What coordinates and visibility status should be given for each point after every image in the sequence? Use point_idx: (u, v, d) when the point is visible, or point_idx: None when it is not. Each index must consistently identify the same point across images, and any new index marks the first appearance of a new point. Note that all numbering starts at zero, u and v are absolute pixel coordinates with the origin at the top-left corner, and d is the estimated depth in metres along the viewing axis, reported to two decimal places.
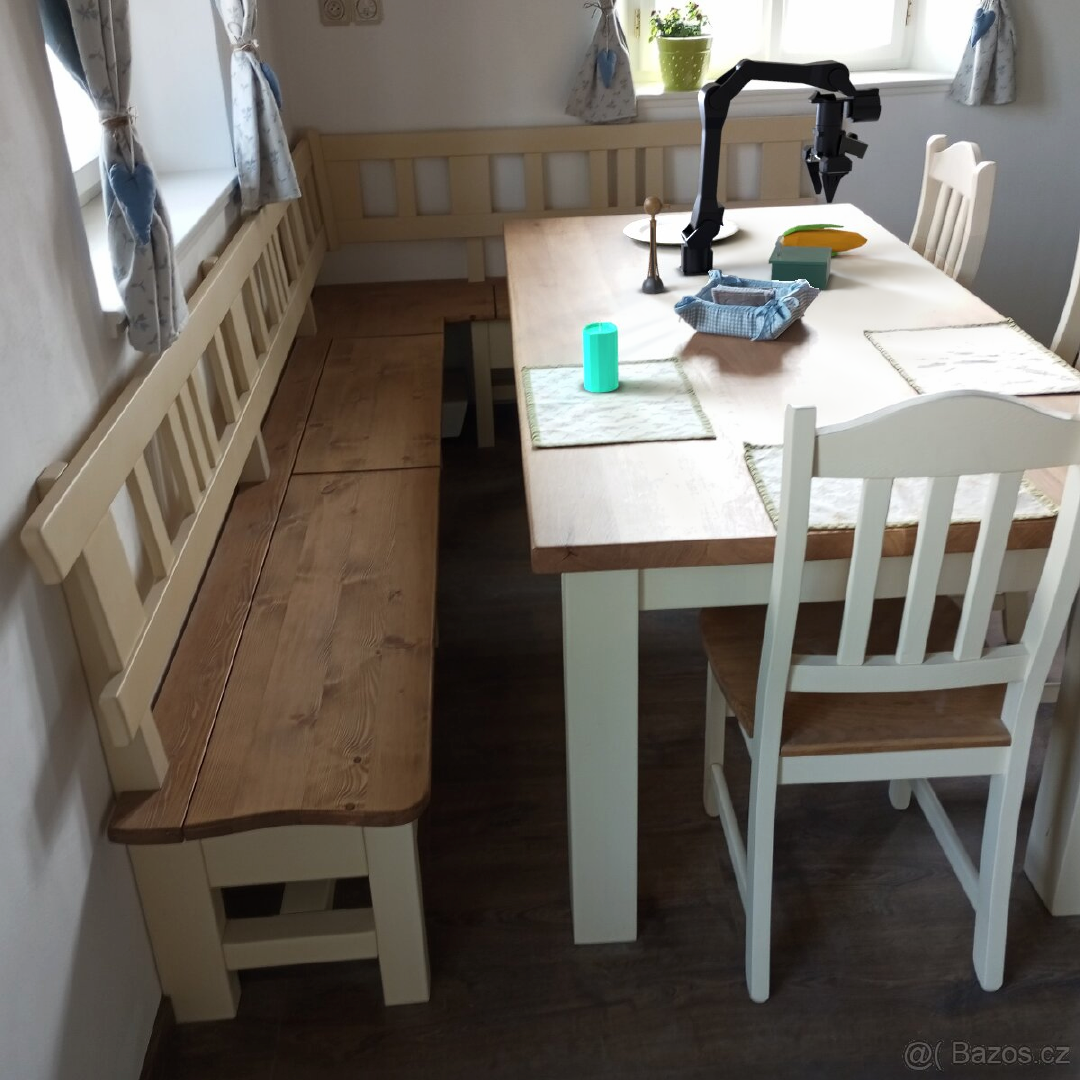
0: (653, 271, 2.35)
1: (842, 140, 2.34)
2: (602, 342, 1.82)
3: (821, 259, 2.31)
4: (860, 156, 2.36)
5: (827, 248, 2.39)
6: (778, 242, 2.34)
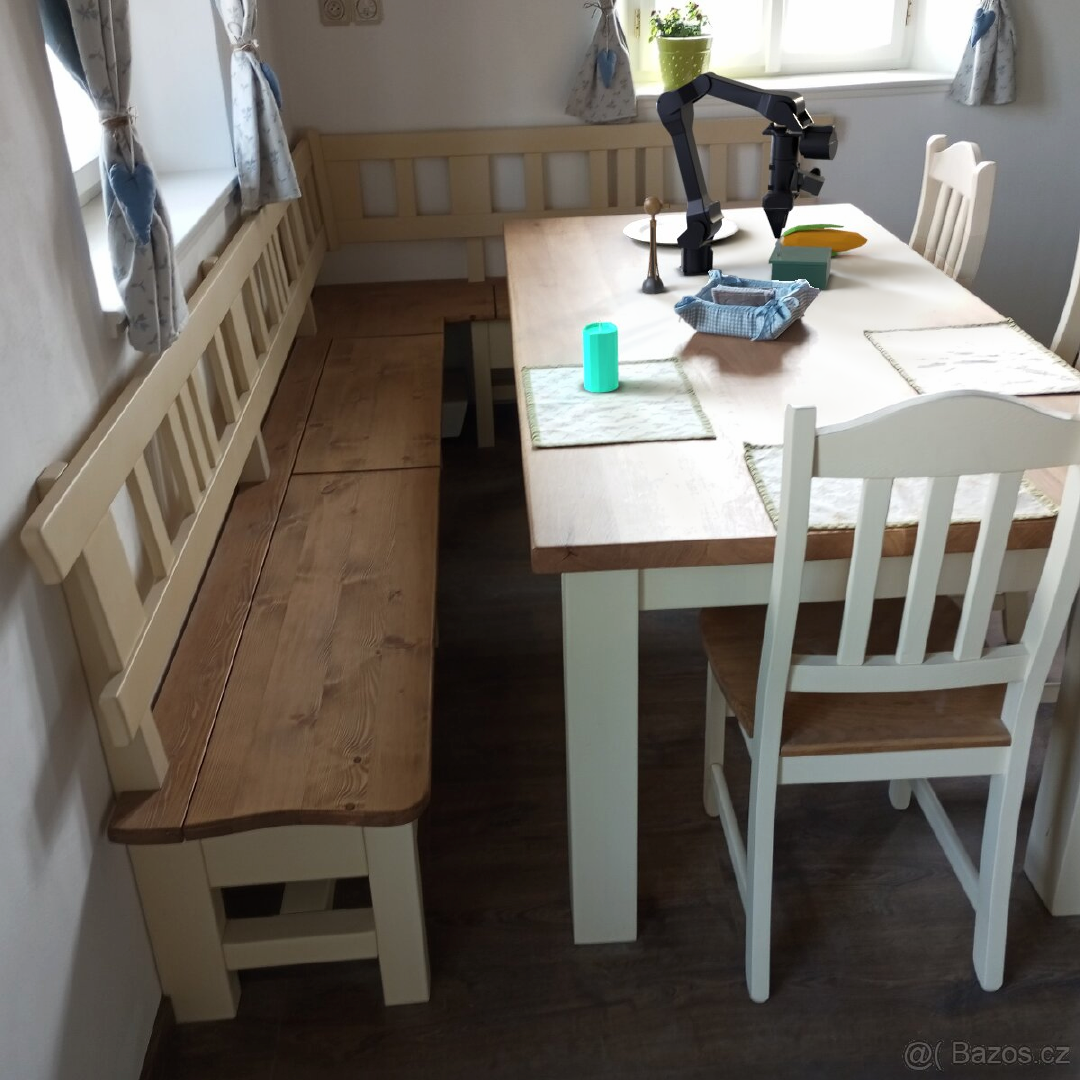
0: (653, 271, 2.35)
1: (794, 175, 2.26)
2: (602, 342, 1.82)
3: (821, 259, 2.31)
4: (814, 193, 2.27)
5: (827, 248, 2.39)
6: (778, 242, 2.34)
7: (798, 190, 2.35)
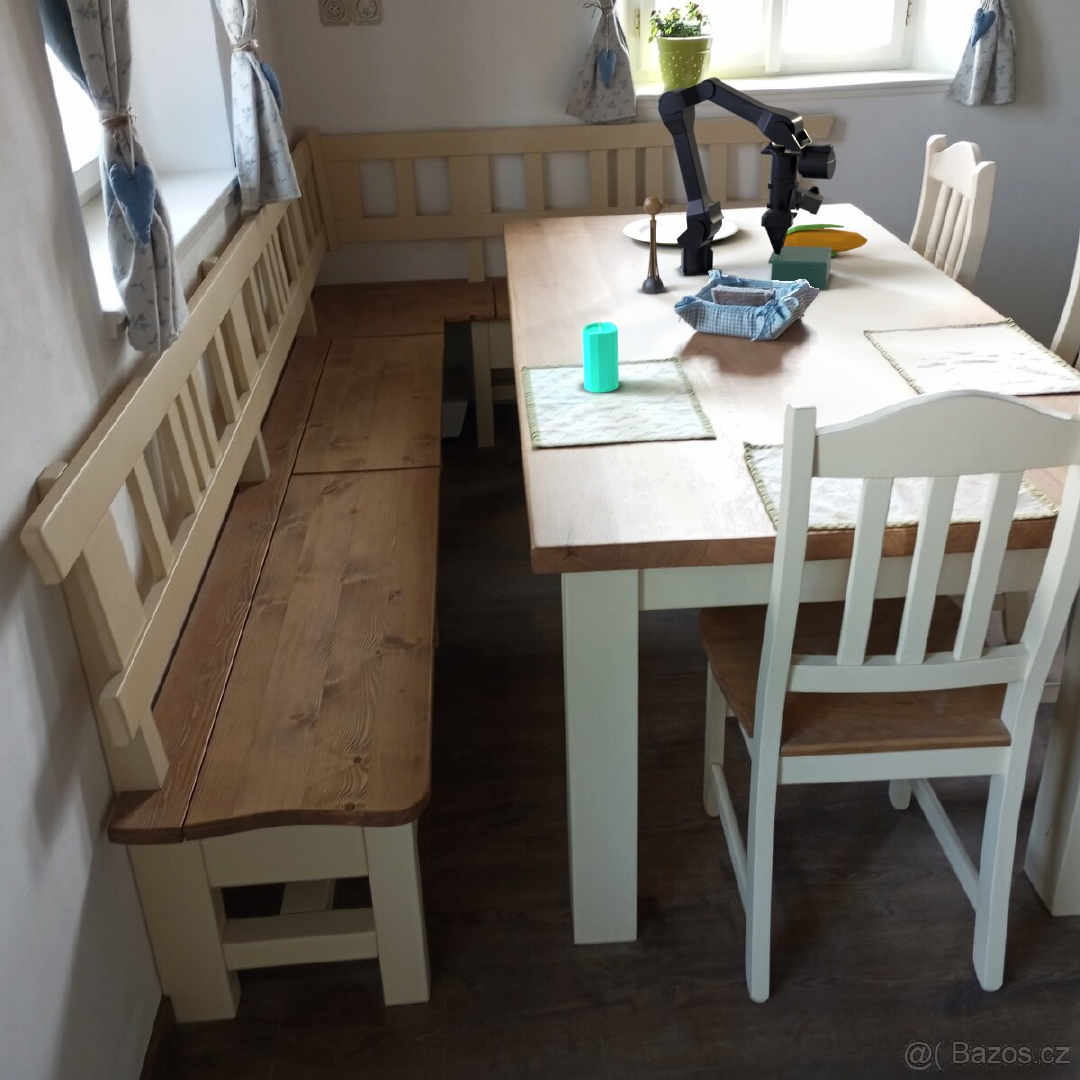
0: (653, 271, 2.35)
1: (792, 194, 2.28)
2: (602, 342, 1.82)
3: (821, 259, 2.31)
4: (812, 212, 2.29)
5: (827, 248, 2.39)
6: None
7: (797, 208, 2.37)
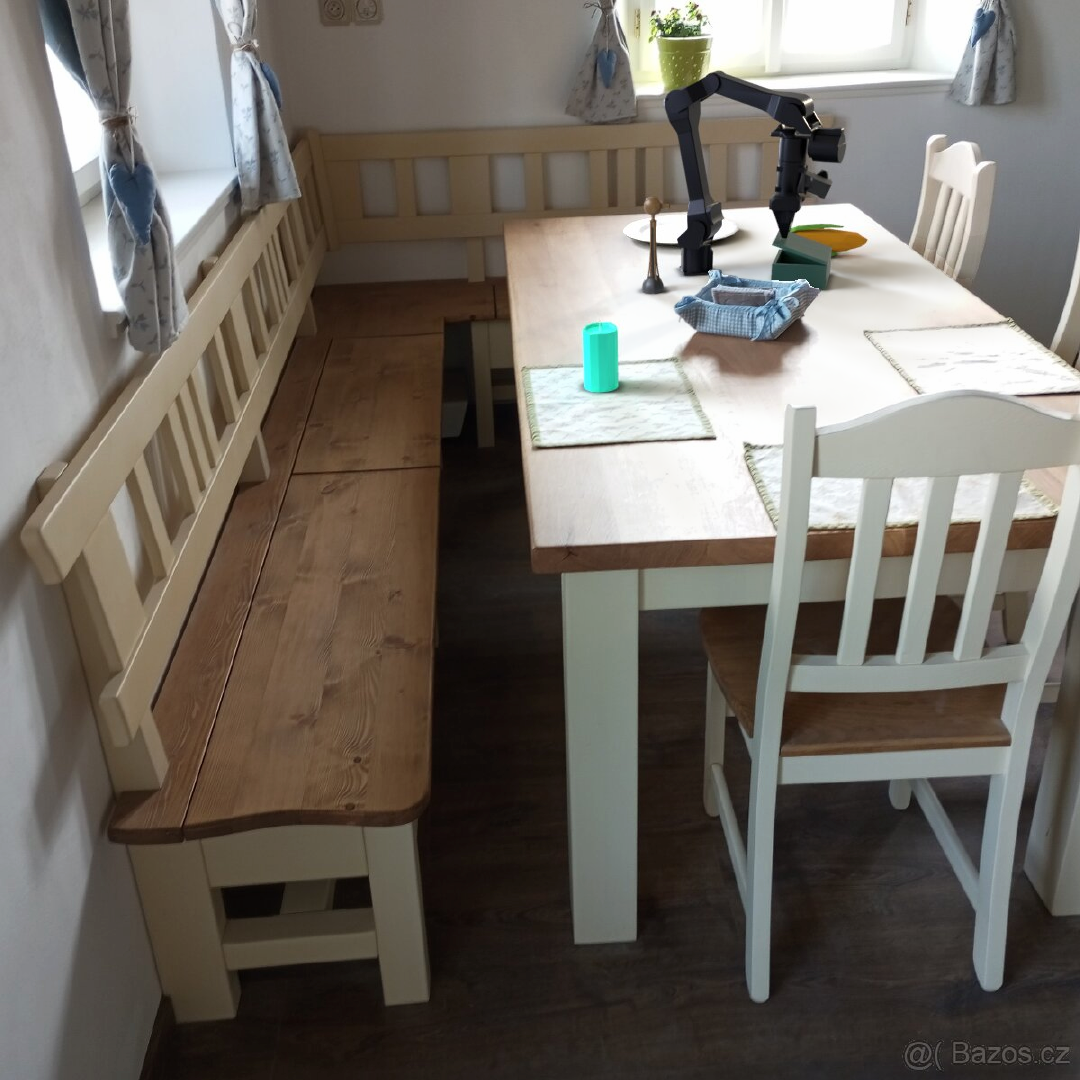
0: (653, 271, 2.35)
1: (801, 177, 2.26)
2: (602, 342, 1.82)
3: (822, 257, 2.31)
4: (821, 196, 2.27)
5: (828, 247, 2.38)
6: None
7: (805, 192, 2.35)
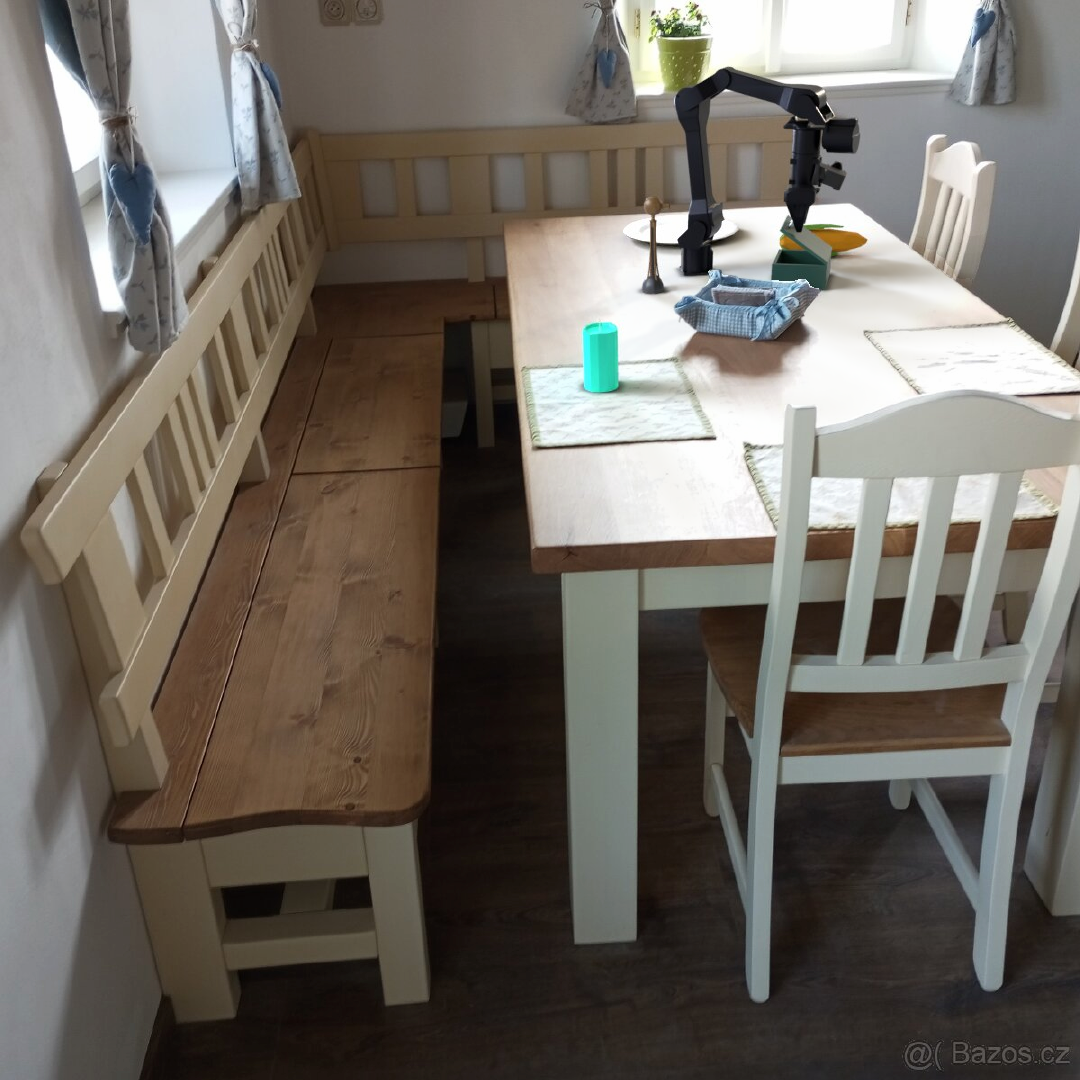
0: (653, 271, 2.35)
1: (815, 169, 2.24)
2: (602, 342, 1.82)
3: (823, 256, 2.31)
4: (835, 187, 2.25)
5: (829, 246, 2.38)
6: None
7: (819, 185, 2.33)
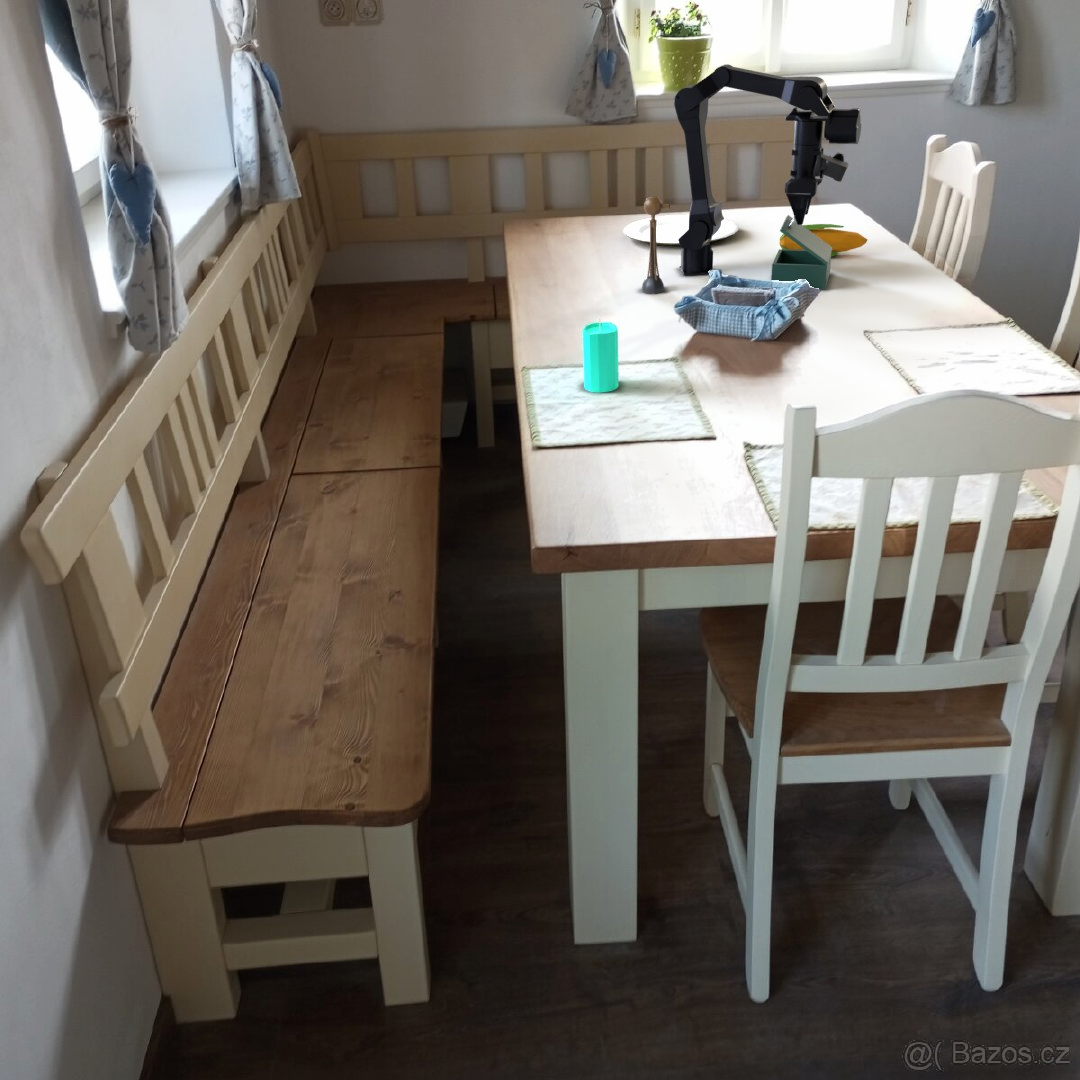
0: (653, 271, 2.35)
1: (817, 160, 2.25)
2: (602, 342, 1.82)
3: (823, 256, 2.31)
4: (837, 178, 2.26)
5: (829, 246, 2.38)
6: None
7: (821, 176, 2.34)
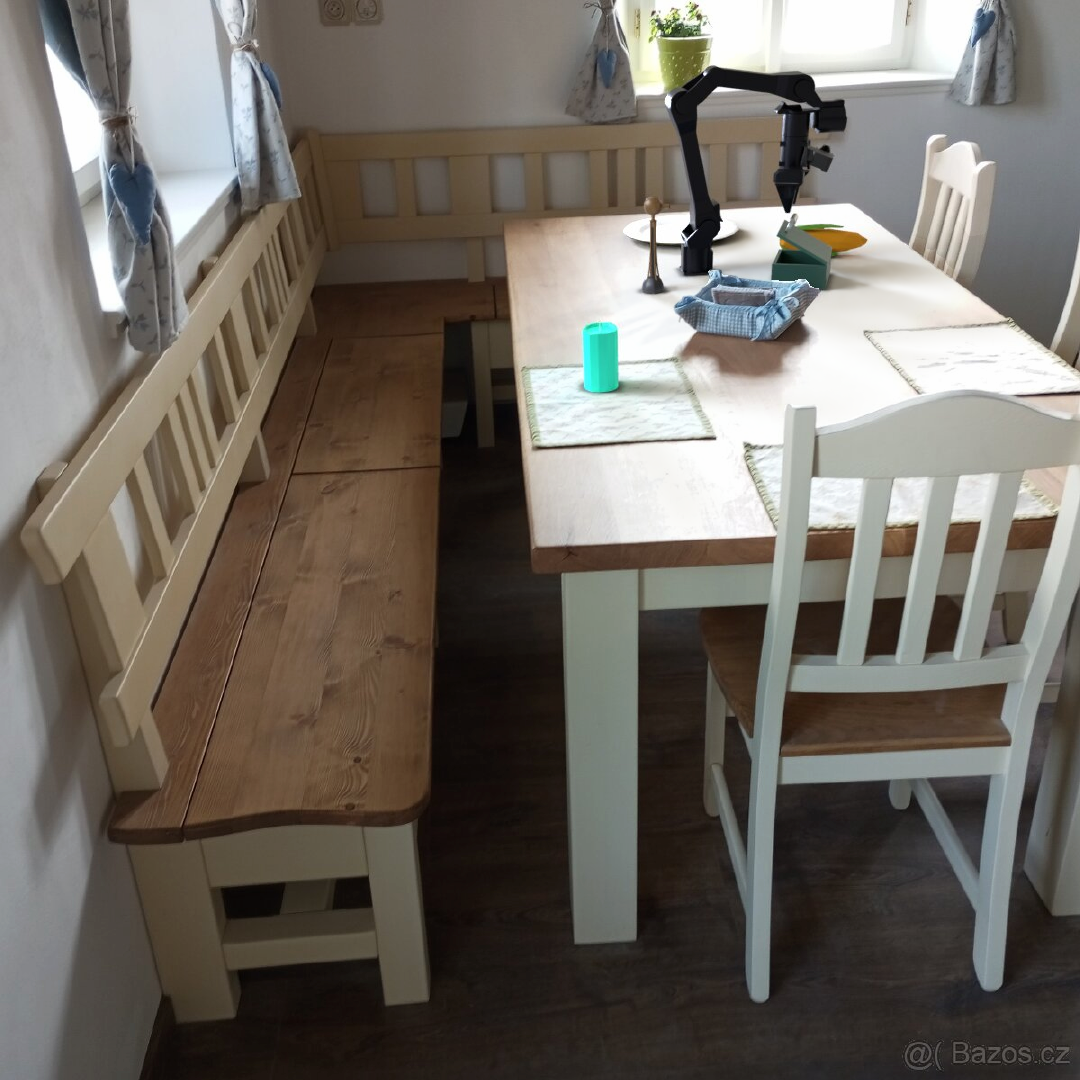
0: (653, 271, 2.35)
1: (804, 151, 2.35)
2: (602, 342, 1.82)
3: (823, 256, 2.31)
4: (823, 169, 2.35)
5: (828, 246, 2.38)
6: (793, 220, 2.31)
7: (808, 167, 2.44)
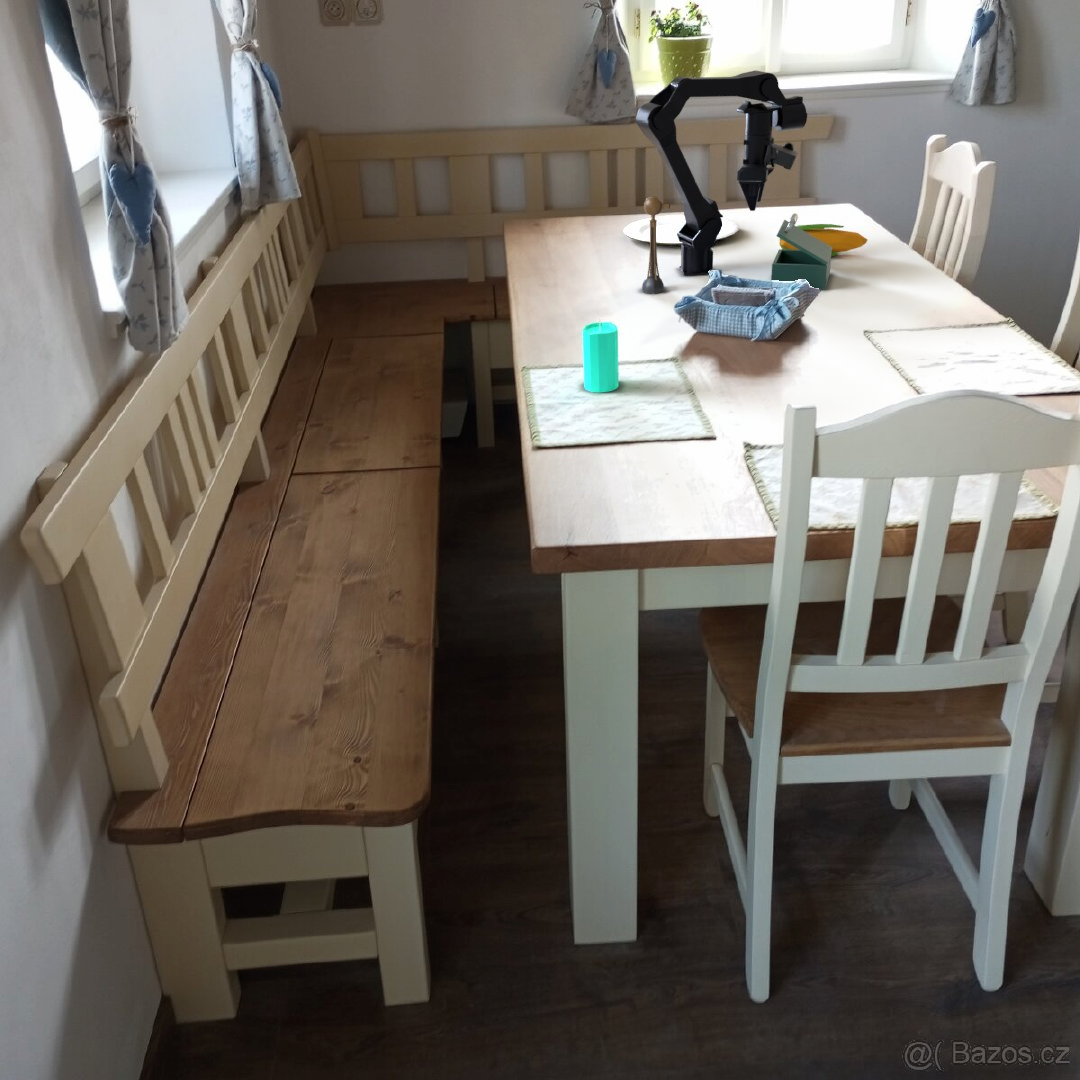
0: (653, 271, 2.35)
1: (767, 150, 2.38)
2: (602, 342, 1.82)
3: (823, 256, 2.31)
4: (786, 167, 2.38)
5: (828, 246, 2.38)
6: (793, 220, 2.31)
7: (772, 165, 2.47)
